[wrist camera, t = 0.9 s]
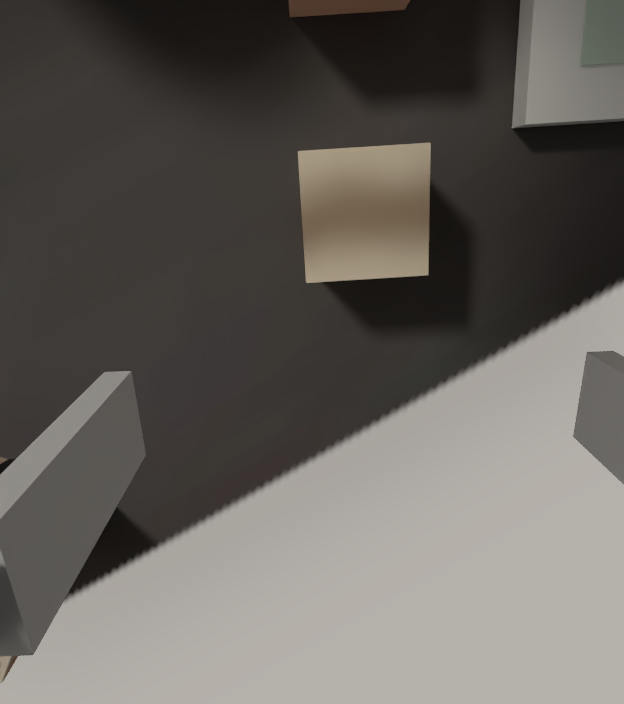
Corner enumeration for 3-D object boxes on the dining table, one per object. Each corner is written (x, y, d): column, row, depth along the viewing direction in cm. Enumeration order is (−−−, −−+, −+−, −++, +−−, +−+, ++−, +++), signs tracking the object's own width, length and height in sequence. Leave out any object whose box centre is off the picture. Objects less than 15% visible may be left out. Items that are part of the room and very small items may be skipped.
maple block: (299, 158, 32) (297, 151, 26) (404, 151, 32) (430, 142, 26) (305, 264, 34) (306, 282, 28) (404, 258, 34) (428, 275, 28)
